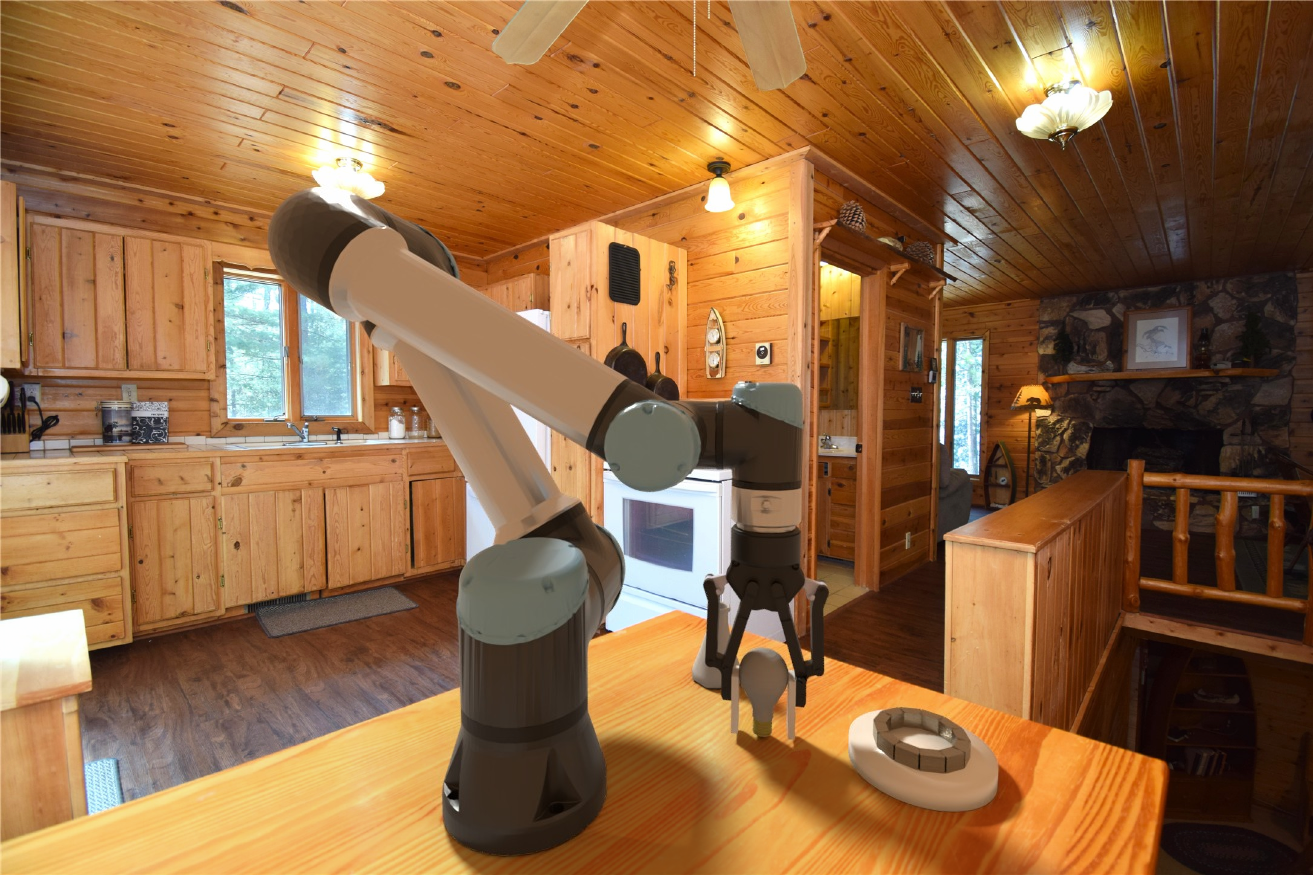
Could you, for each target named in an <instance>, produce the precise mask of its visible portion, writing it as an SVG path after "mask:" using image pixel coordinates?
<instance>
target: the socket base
mask: <svg viewBox="0 0 1313 875" xmlns="http://www.w3.org/2000/svg"><path fill="white" fill-rule="evenodd" d="M882 710H883V709H877V710H873V711H869V712H866V713H864V714H861V715H860V716H858V717H857V718H855V719H854V720H853V721H852V723H851V724H850V725H849V728H848V729H849V730H848V744H847V745H848V746H847V747H848V749H847V751H848V757H849V761H850V763H851V765H852V767H853V768H854V769H855V771H856V772H857V773H858V774H859V775H860V776H861V777H862V778H863V780H865V781H866V782H867V783H868V784H870V785H871V786H873V787H874V788H875V789H877V790H879V791H880V792H882V793H884V794H886V795H887V796H889V797H892V798H893V799H896V800H898V801H900V802H903V803H906V804H909V805H912V806H915V807H918V808H922V809H927V810H933V811H937V812H938V811H940V812H952V813H953V812H957V813H958V812H967V811H972V810H973V811H974V810H978V809H979V808H983V807H985V806H986V805H988V804H989V803H991V801H993V799H994V798H995V796H996V795H997V793H998V785H999V784H998V782H999V761H998V759H997V756H996V754H995V753H994V751H993V750H992V748H991V747H990V746H989V745H988V744H987V743H986V742H985V741H984V740H983V739H981V738H980V737H979V736H977V735H976V734H974V733H973V732H972V731H970V730H969V729H967V728H966V727H963V726H961V725H959V726H960V727H962V729H964V731H965V732H966V734H967V736H968V737H969V739H970V741H971V754H970V759H969V761H968V763H967V765H966V767H965V768H964V769H962V770H958V771H954V772H951V773H947V774H946V773H945V774H942V773H933V772H924V771H920V770H915V769H913V768H910V767H908V766H905V765H903V764H900V763H898V762H895V760H892V759H891V758H889V757H888V756H887V755H886V754H885V753H883V752H882V751H881V750H880V749H878V747H877V746H876V743H875V740H874V737H873V719H874V718H875V717H876V716H877V715H878V714H879V712H880V711H882ZM884 710H886V709H884ZM890 733H891V734H893V735H894V736H895V737H897V738H898V739H899V740H901V741H902V742H905V743H908V744H910V745H913V746H916V747H918V748H924V749H934V750H941V749H945V748H949V747H952V744H951V743H949V742H948V741H946V740H945V739H943V738H942V737H941V736H939V735H937V734H935V733H932V732H929V731H926V730H923V729H919V728H909V727H902V728H897V729H893V730H890Z"/></svg>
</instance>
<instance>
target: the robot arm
mask: <svg viewBox="0 0 1313 875" xmlns="http://www.w3.org/2000/svg"><path fill="white" fill-rule="evenodd" d="M266 235H267V236H266V239H267V249H268V253H269V256H270V259H271V262H272V264H273V266H274V268H275V269H276V271H277V272H278V274H279V276H280V277H281V278H282V279H283V280H284V283H286V284H287V285H289V286H290V287H291V288H292V289H293V290H295V292H296V293H298V294H300V295H301V296H304V297H305V298H307V299H309V300H310V301H312V302H315V303H316V304H318V305H320V306H322V307H323V308H325V309H327V310H329V311H330V312H332V313H333V314H335V315H337V316H339V317H341V318H342V319H344V320H346V321H349V322H353V323H360V324H361V326H362V328H363V330H364V332H365V333H366V336H367V337H368V338H369V341H370V343H371V344H372V345H373V346H374V347H375V348H377V349H380V350H383V351H386V352H391V353H393V354H394V356H395V358H396V360H397V361H398V363H399V366H400V367H401V368H402V370H403V371H404V373H405V375H406V377H407V379H408V381H409V382H410V383H411V384H410V385H411V386H412V388H413V389H414V391H415V393H416V394H417V396H418V398H419V400H420V401H421V403H422V404H423V406H424V409H425V410H426V411H427V414H428V415H429V417H430V419H431V421H432V422H433V424H434V426H435V428H436V429H437V431H438V432H439V435H440V437H441V438H442V439H443V441H444V443H445V445H446V446H447V448H448V450H449V452H450V454H451V456H452V457H453V459H454V460H455V462H456V464H457V466H458V467H459V469H460V471H461V473H462V474H463V476H464V478H465V480H466V482H467V483H468V485H469V486H470V488H471V490H472V492H473V493H474V496H475V498H477V500H478V502H479V504H480V506H481V507H482V509H483V511H484V512H485V515H486V516H487V518H488V520H489V521H490V523H491V525H492V526H493V528H494V532H495V536H494V538H493V542H492V545H491V546H489V547H486V548H484V549H483V550H480V551H479V552H478V553H475V555H474V556H472V557H471V558H470V559H469V560H468V561H467V562H466V563H465V565H464V567H463V568H462V570H461V572H460V576H459V581H458V596H457V598H456V606H455V608H456V619H457V626H458V664H459V693H460V694H459V697H460V700H459V701H460V727H459V732H458V733H457V737H456V740H455V744H454V747H453V751H452V754H451V757H450V759H449V763H448V767H447V770H446V773H445V776H444V779H443V782H442V790H441V799H442V801H441V806H442V809H441V810H442V819H443V824H444V826H445V828H446V831H447V832H448V834H450V836H451V837H452V838H455V839H454V840H455V841H457V843H459V844H461V845H462V846H464V847H466V848H469V849H470V850H472V851H476V852H477V853H478V852H479V853H483V854H487V855H493V856H494V855H495V856H521V855H523V856H524V855H528V854H533V853H534V854H535V853H537V852H542V851H545V850H548V849H550V848H554V847H556V846H559V845H561V844H563V843H565V842H567V841H569V840H570V839H572V838H574V837H576V836H578V835H579V834H580V833H581V832H583V830H585V829H586V828H587V827H588V826H589V825H591V823H592V822H593V821H594V820H595V819H596V818H597V817H598V815H599V814H600V812H601V810H602V809H603V806H604V804H605V801H606V797H607V790H608V788H607V787H608V786H607V784H608V783H607V782H608V778H607V774H608V773H607V763H606V759H605V755H604V752H603V749H602V746H601V744H600V741H599V738H598V736H597V733H596V732H597V731H596V730H595V727H594V724H593V721H592V718H591V716H590V713H589V699H588V698H589V694H588V693H589V690H588V688H589V687H588V686H589V685H588V684H589V675H588V674H589V671H588V670H589V668H588V666H589V665H588V664H589V663H588V662H589V660H588V658H589V657H588V655H589V654H588V652H589V645H590V642H591V640H592V639H593V637H594V636H595V634H596V632H597V631H598V630H599V628H600V627H601V625H602V624H603V622H604V621H605V619H606V618H607V616H608V614H609V613H610V612H612V611H613V609H614V608H615V606H616V605H617V603H618V601H619V599H620V597H621V593H622V590H623V587H624V583H625V579H626V560H625V554H624V553H623V549H622V547H621V545H620V543H619V542H618V540H617V538H616V537H615V536H614V535H613V534H612V533H611V531H610V530H608V529H607V528H605V527H604V526H602V525H600V524H599V523H596V522H594V521H593V519H592V517H591V516H590V514H589V512H588V510H587V509H586V507H585V506H584V504H583V502H582V500H581V499H580V498H578V497H574V496H571V495H567V494H565V493H562V492H561V490H560V488H559V487H558V485H557V483H556V482H555V479H554V478H553V476H552V475H551V473H550V472H549V469H548V468H547V466H546V464H545V463H544V460H543V459H542V458H541V455H540V453H539V452H538V450H537V448H536V447H535V445H534V443H533V441H532V440H531V437H530V436H529V434H528V433H527V430H526V429H525V428H524V426H523V424H522V422H521V421H520V419H519V417H518V415H517V413H516V412H515V411H514V409H513V407H514V408H516V409H517V410H519V411H520V412H522V413H524V414H525V415H527V416H529V417H531V418H532V419H534V420H536V421H537V422H539V423H541V424H542V425H544V426H546V427H548V428H549V429H551V430H553V431H554V432H556V433H558V434H560V435H561V436H563V437H565V438H567V439H568V440H570V441H572V442H574V443H575V444H576V445H578V446H580V447H581V448H583V449H584V450H586V451H588V452H590V453H592V454H593V455H594V456H595V457H597V458H599V459H600V460H602V461H604V462H606V463H607V465H608V467H609V469H610V471H611V472H612V473H613V475H614V476H615V477H616V479H617V480H618V481H619V482H621V483H622V484H623V485H625V487H628V488H630V489H632V490H634V491H638V492H642V493H643V492H645V493H656V492H661V491H665V490H667V489H671V488H673V487H675V486H677V485H678V484H680V483H682V482H684V481H685V479H686V478H687V477H688V476H689V475H691V474H692V472H693V471H694V470H719V471H722V470H730V471H731V491H730V492H731V495H730V496H731V500H730V501H731V504H730V507H731V508H730V510H731V512H730V513H731V514H730V516H731V517H730V519H731V520H732V521H733V522H734V524H733V526H731V528H730V563H729V566H728V567H727V569H726V572H722V573H719V574H713V573H707V574H706V575H705V577H704V580H703V583H702V588H703V590H704V594H705V596H706V600H707V603H708V607H707V606H706V608H707V612H706V627H705V628H706V630H705V633H706V650H705V664H706V666H708V667H715V668H717V669H718V670H720V672H721V688H720V696H721V698H722V700H723V701H729V702H730V701H731V702H730V734H734V735H736V734H737V735H738V734H739V724H740V723H739V722H740V719H739V718H740V684H739V666H737V665H734V663H735V660H736V656H737V657H738V653H739V650H740V646H741V643H742V640H743V638H744V634H745V631H746V627H747V624H748V620H749V619H750V616H751V613H752V611H762V610H766V611H769V612H772V613H773V612H774V613H777V615H778V618H779V621H780V624H781V627H782V632H783V635H784V638H785V642H786V643H785V644H786V646H787V649H788V655H789V657H790V661H791V664H792V668H793V670H792V669H788V672H789V677H788V684H787V687H786V689H787V690H786V691H787V694H786V698H787V700H786V702H787V703H786V731H787V732H786V733H787V740H792V741H795V740H796V708H804V709H805V706H806V704H807V684H808V683H807V682H808V680H809V678H810V677H814V676H815V677H819V678H820V677H822V676H823V675H824V674H825V635H824V634H825V630H824V625H825V623H824V621H825V619H824V617H825V616H824V607H825V605H826V603H827V600H828V598H829V594H830V590H829V588H828V584H827V582H826V581H825V579H824V580H823V579H818V580H814V579H812V578H809V577H806V576H805V574H804V571H803V570H802V567H801V566H802V565H801V562H802V561H801V555H802V554H801V552H802V550H801V549H802V544H801V543H802V531H801V530H800V528H799V527H798V525H799V524H800V523H801V522H802V505H803V504H802V498H803V497H802V496H803V495H802V494H803V493H802V492H803V491H802V490H803V489H802V488H803V483H802V482H803V481H802V480H803V461H804V460H803V459H804V458H803V455H804V429H805V424H804V411H803V410H804V409H803V407H804V406H803V392H802V389H801V388H800V387H799V386H798V385H797V384H794V383H791V382H739V383H736V384H735V385H734V386H733V388H732V395H731V396H730V400H729V399H728V400H727V399H726V400H718V401H708V400H707V401H699V400H698V401H697V400H667V399H666V398H664V397H663V396H661V395H659V394H657V393H655V392H653V391H652V390H650V389H648V388H647V387H645V386H643V385H642V384H640V383H639V382H635V381H633V380H632V379H630V378H629V377H627V376H626V375H624V374H622V373H620V372H618V371H616V370H615V369H614V368H611V367H610V366H608V365H606V364H605V363H603V362H601V361H599V360H598V359H596V358H595V357H592V356H590V355H589V354H587V353H585V351H582V350H580V349H579V348H577V347H576V346H574V345H572V344H570V343H569V342H567V341H565V340H563V339H561V338H560V337H558V336H556V335H555V334H554V333H553V334H552V333H551V332H549V331H547V329H544V328H542V327H540V326H539V325H537V324H536V323H534V322H532V321H530V320H528V319H527V318H526V317H524V316H522V315H520V314H518V313H517V312H515V311H514V310H511V309H509V308H508V307H506V306H505V305H502V304H501V303H499V302H498V301H496V300H494V299H492V298H491V297H489V296H487V295H486V294H484V293H482V292H481V291H478V289H475V288H473V287H471V285H468V284H467V283H465V282H463V281H462V280H461V276H460V272H459V271H460V270H459V267H458V264H457V262H456V259H455V257H454V256H453V254H452V253H451V251H450V249H449V248H448V247H447V246H446V245H445V243H443V242H442V241H441V240H440V239H438V237H436V236H435V235H434V234H433V233H432V232H431V231H429V230H427V229H426V228H424V227H423V226H421V225H420V224H417V223H415V222H413V221H411V220H406V219H403V218H402V217H400V216H397V214H394V213H392V212H390V211H388V210H386V209H384V208H382V207H380V206H379V205H377V204H375V203H373V202H372V201H369V200H368V199H366V198H364V197H362V196H360V195H358V194H357V193H353V192H351V191H348V190H346V189H345V190H344V189H341V188H335V187H328V186H320V187H317V186H316V187H308V188H307V189H303V190H300V191H298V192H295V193H293V194H291V195H290V196H288V197H286V198H285V199H284V200H283V201H282V202H281V203H280V204H279V205H278V207H277V208H276V210H275V211H274V212H273V214H272V216H271V219H270V221H269V224H268V229H267V234H266ZM727 584H728V585H729V586H730V587H731V589H732V590H733V592H734V593H735V595H736V596H737V597H738V599H739V605H738V608H737V611H736V615H735V618H734V621H733V624H732V627H731V631H730V637H729V640H728V643H727V646H726V649H725V653H724V654H722V653H719V652H718V633H719V612H720V602H721V595H723V594H724V592H725V588H726V587H725V586H726V585H727ZM802 589H804V590H805V596H806V598H807V600H808V601H809V616H810V617H809V618H810V620H809V621H810V624H809V625H810V659H807V660H804V656H803V650H802V648H801V644H800V640H799V637H798V633H797V628H796V625H795V622H794V619H793V615H792V611H791V607H790V604H791V602H792V601H793V599H795V597H796V596H797V595H798V593H799V592H800V591H801V590H802Z"/></svg>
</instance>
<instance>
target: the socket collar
mask: <svg viewBox="0 0 1313 875" xmlns="http://www.w3.org/2000/svg"><path fill="white" fill-rule="evenodd" d="M881 710H882V711H880V712H879V714H878V715H877V716H876V717H875V718H874V719H873V737H874V740H875V743H876V746H877V747H878V749H880V750H881V751H882V752H883V753H885V754H886V755H887V756H888V757H889V758H891V759H892V760H895V762H898V763H900V764H903V765H905V766H908V767H910V768H913V769H915V770H920V771H924V772H933V773H942V774H945V773H946V774H947V773H951V772H954V771H958V770H962V769H964V768H965V767H966V765H967V763H968V761H969V759H970V754H971V741H970V739H969V737H968V736H967V734H966V732H965V731H964V729H962V727H963V726H961V725H959V724H957V723H955V722H954V721H953V720H951V719H950V718H948V717H947V716H946V717H945V716H944V715H941V714H938V713H935V712H932V711H929V710H925V709H921V708H916V707H915V708H914V707H906V706H905V707H903V706H896V707H891V708H887V709H886V710H885V709H881ZM960 726H961V727H960ZM902 727H909V728H919V729H923V730H926V731H929V732H932V733H935V734H937V735H939V736H941V737H942V738H943V739H945V740H946V741H948V742H949V743H951V744H952V747H949V748H945V749H941V750H934V749H924V748H918V747H916V746H913V745H910V744H908V743H905V742H902V741H901V740H899V739H898V738H897V737H895V736H894V735H893V734H891V733H890V730H893V729H897V728H902Z"/></svg>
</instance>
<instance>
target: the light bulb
mask: <svg viewBox="0 0 1313 875" xmlns="http://www.w3.org/2000/svg"><path fill="white" fill-rule="evenodd" d="M739 664H740V665H739V679H740V683H741V684H740V685H741V687H742V689H743V691H744V693H745V694H746V697H747V698H748V700H749V702H750V704H751V708H752V732H753V734H754V735H756V736H757V737H759V738H762V739H763V738H767V737H769V736H771V734H772V733H773V720H774V710H775V706H776V704H777V703H778V702H779V700H780V699H781V698H782V696H783V695H784V693H785V691H786V689H787V687H788V677H789V672H788V670H789V669H788V665H787V663H786V661H785V659H784V657H782V655H781V654H780V653H779V652H777V651H776V650H775V649H772V648H769V647H754V648H752V649H750V650H749V651H747V652H746V653H745V654H744V655H743V657H742V658H741V661H740V662H739Z"/></svg>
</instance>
